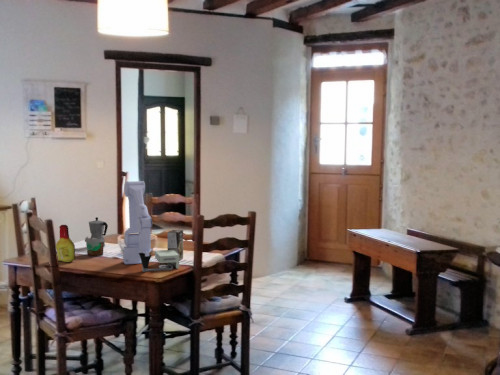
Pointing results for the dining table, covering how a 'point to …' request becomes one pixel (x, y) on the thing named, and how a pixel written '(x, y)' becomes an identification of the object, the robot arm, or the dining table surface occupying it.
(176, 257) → the low cabinet
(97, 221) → the coffeepot
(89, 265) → the dining table surface
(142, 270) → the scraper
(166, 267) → the steel token
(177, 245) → the coffee box
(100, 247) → the food container
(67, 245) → the bottle
